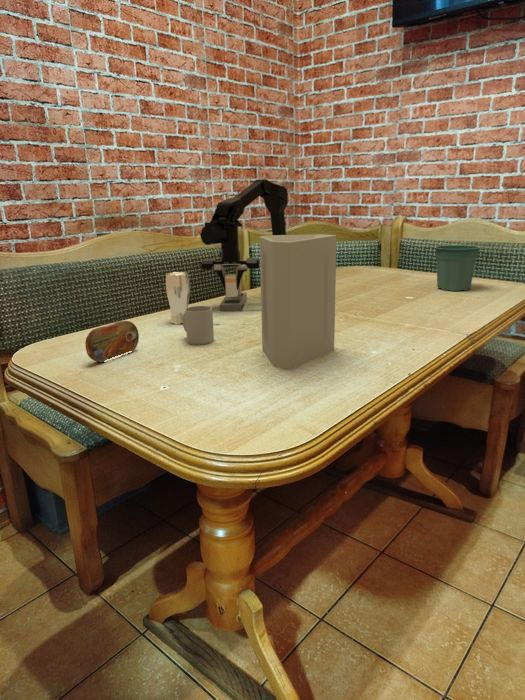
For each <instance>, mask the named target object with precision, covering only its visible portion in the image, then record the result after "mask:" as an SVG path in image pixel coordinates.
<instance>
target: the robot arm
mask: <svg viewBox="0 0 525 700" xmlns="http://www.w3.org/2000/svg"><path fill="white" fill-rule="evenodd" d="M259 197H260V198H262V199H263V201H264V206H265V207H266V209H267V210H268V212H269V214H270V223H271V233H272V234H271V235H287V230H286V219H285V218H286V216H285V210H286V208H287V206H288V203H289V199H288V198H289V192H288V188H286V187H285V186H284V185H280V184H277V183H273V182H271V181H270V180H268V179H265V178H263V179H261V178H260V179H255V180H253V181H252V183H251V184H249V185H248V186H246V188H245V189H242V190H241V192H239V193H237V194H236V195H235V196H233V197H231V198H230V197H229V198H226V199H224V200H221V201H219V202H218V203H217V204H216V206H215V210H214V212H213V214H212V217H211V219H210V221H205V222H204V226H203V228H202V229H201V230H200V231H201V232H200V239H201V242H202V244H204V245H206V246H211V245H218V244H219V245H220V247H219V256H218V257H219V258H220V259H221V260H216V259H215V258H204V259H202V260H201V262H200V263H201V264H200V269H201V270H212V269H213V273H216V274H217V276H218V278H219V279H220V281H221V284H222V286H223V288H224V290H225V291H226V286H225V275H226V271H225V270H226V269H225V267H226V268H227V267H238V269H237V272H236V274H237V290H238V289H239V285H240V282H241V283H242V277H243V274H244V273H246V272H247V271H248V270H251V269H253V270H254V269H258V270H259V269H260V259H259V257H248V258H246V260H241V251H240V248H239V246H240V245H239V227H240V228H241V227H243V224H242V223H241V222H240V221H239V219H240V217H241V216H242V215H243V214H244V212H245V209H246V207H247V206H249V205H250V204H251V203H253V202H254V201H255V200H257V198H259Z"/></svg>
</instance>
